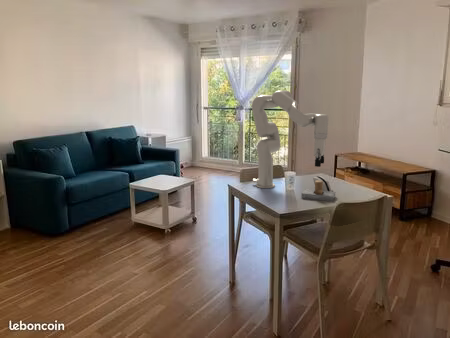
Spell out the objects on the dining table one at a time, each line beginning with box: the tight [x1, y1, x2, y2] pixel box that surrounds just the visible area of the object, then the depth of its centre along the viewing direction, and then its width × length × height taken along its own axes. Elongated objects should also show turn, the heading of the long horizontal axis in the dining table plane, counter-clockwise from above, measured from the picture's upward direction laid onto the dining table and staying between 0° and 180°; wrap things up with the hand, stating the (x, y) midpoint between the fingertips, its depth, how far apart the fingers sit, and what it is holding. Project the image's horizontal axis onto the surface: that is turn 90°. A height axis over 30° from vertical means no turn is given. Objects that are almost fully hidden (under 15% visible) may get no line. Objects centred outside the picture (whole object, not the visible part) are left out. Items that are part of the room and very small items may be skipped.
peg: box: [314, 180, 323, 194], centre depth 222 cm, size 4×4×10 cm
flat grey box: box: [301, 188, 336, 202], centre depth 223 cm, size 18×10×3 cm, turn 65°
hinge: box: [312, 175, 335, 192], centre depth 238 cm, size 17×5×10 cm, turn 12°
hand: (319, 164), depth 219 cm, fingers open, 9 cm apart
